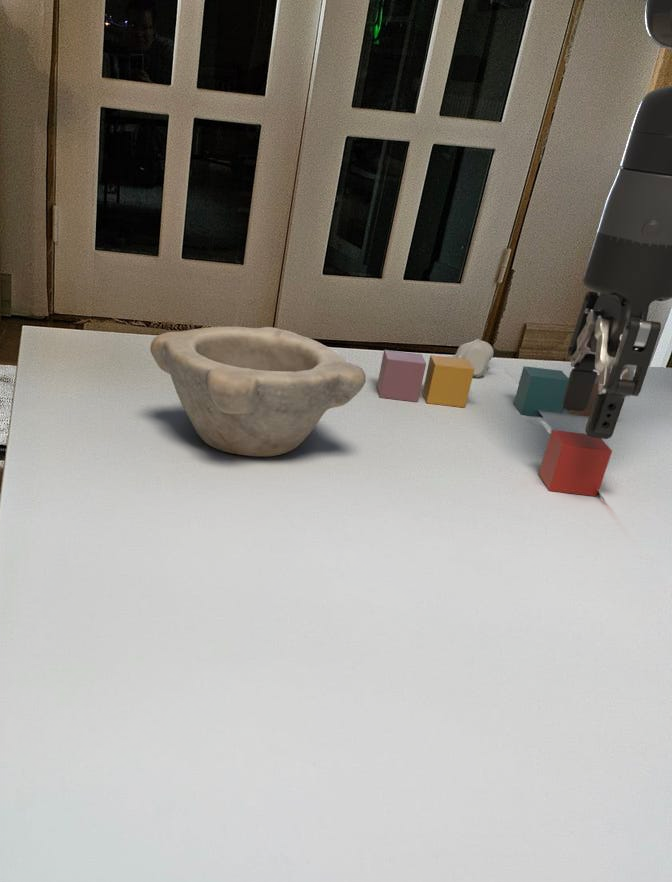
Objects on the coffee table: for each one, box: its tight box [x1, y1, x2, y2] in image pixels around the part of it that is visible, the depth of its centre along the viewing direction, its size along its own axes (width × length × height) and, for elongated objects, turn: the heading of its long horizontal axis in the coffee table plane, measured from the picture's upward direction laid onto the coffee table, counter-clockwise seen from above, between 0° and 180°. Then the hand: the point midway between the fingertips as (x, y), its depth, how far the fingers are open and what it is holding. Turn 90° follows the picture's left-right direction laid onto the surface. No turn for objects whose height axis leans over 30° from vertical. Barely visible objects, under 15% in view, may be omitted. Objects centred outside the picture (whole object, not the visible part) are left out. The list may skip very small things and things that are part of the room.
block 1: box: [376, 349, 427, 403], centre depth 111 cm, size 4×4×4 cm
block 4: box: [565, 371, 600, 417], centre depth 110 cm, size 4×4×4 cm
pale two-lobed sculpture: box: [452, 338, 495, 378], centre depth 124 cm, size 4×8×5 cm
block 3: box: [513, 365, 569, 418], centre depth 110 cm, size 4×4×4 cm
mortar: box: [149, 326, 366, 457], centre depth 90 cm, size 17×17×9 cm
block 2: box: [422, 354, 474, 409], centre depth 110 cm, size 4×4×4 cm
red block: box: [538, 429, 613, 497], centre depth 89 cm, size 4×4×4 cm
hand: (584, 422), depth 87 cm, fingers open, 8 cm apart
